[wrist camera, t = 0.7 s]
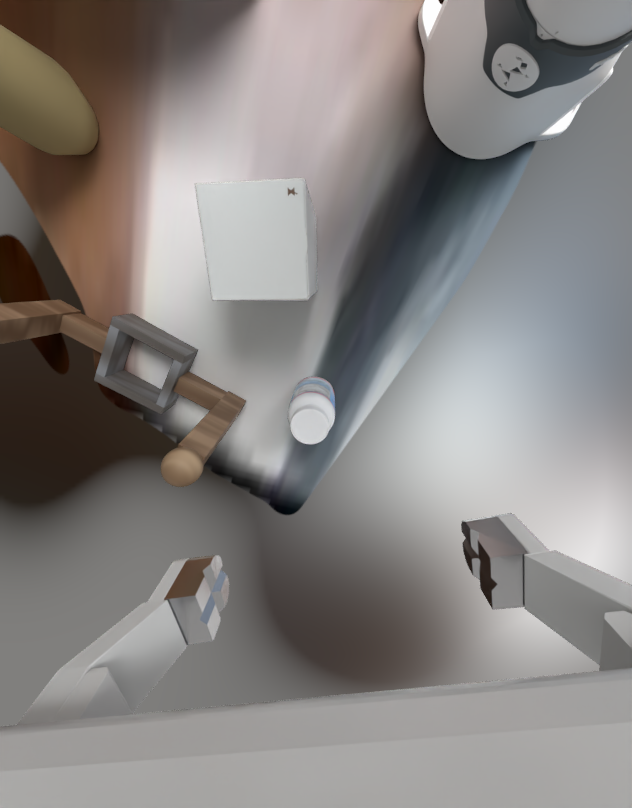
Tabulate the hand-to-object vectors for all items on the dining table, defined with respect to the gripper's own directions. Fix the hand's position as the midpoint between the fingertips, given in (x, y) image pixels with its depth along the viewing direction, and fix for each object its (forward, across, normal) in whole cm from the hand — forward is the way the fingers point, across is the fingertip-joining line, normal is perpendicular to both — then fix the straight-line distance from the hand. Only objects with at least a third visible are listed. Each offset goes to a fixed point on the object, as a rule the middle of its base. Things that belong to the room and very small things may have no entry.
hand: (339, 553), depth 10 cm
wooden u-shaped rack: (+35, +25, -6) cm, 44 cm away
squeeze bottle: (+32, +23, -34) cm, 52 cm away
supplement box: (+34, +3, -16) cm, 37 cm away
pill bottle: (+36, +3, +3) cm, 36 cm away
